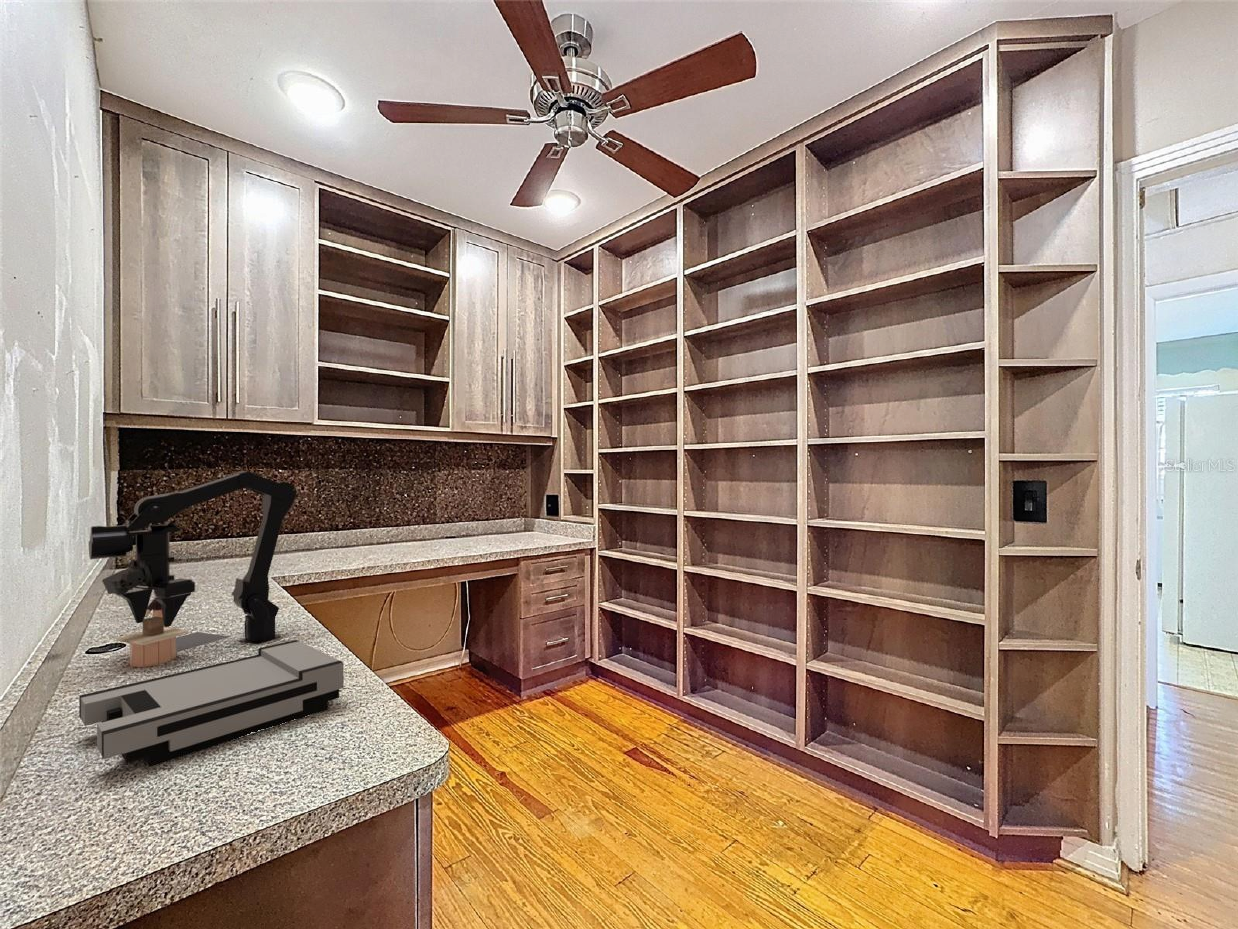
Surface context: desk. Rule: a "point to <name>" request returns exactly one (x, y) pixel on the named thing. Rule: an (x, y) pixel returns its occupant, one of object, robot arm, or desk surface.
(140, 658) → the bowl
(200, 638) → the mat
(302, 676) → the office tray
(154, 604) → the grandmother figurine
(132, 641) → the lid
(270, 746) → the desk surface
